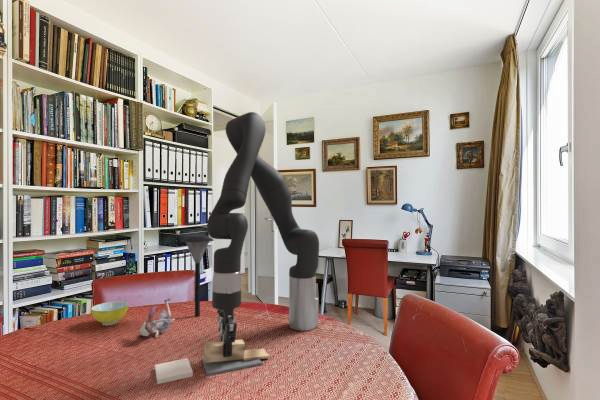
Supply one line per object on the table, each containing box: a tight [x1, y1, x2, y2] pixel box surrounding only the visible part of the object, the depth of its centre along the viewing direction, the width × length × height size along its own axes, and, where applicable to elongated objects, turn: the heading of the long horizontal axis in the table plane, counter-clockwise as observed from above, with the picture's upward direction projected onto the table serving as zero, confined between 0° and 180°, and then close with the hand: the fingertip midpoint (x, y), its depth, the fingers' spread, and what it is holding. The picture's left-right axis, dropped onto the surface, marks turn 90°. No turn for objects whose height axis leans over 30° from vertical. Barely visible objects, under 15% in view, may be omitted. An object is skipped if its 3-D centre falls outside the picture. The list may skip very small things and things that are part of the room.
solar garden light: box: [180, 234, 215, 318], centre depth 125 cm, size 12×12×30 cm
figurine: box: [139, 297, 176, 339], centre depth 108 cm, size 12×9×15 cm
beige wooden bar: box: [203, 339, 270, 363], centre depth 90 cm, size 17×5×4 cm, turn 114°
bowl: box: [90, 301, 129, 327], centre depth 117 cm, size 11×12×6 cm
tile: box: [154, 357, 194, 385], centre depth 84 cm, size 2×8×8 cm
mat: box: [201, 348, 263, 377], centre depth 89 cm, size 14×9×1 cm, turn 114°
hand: (226, 353), depth 88 cm, fingers closed on beige wooden bar, 3 cm apart
